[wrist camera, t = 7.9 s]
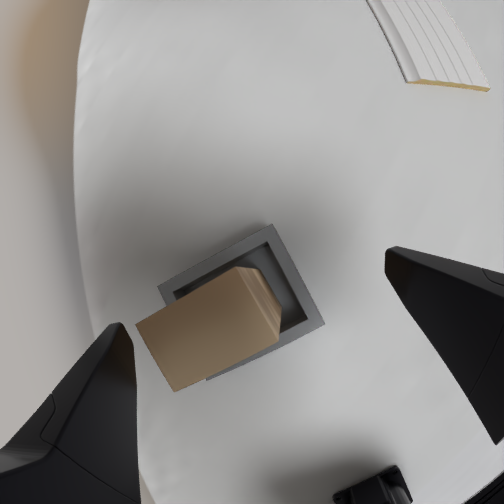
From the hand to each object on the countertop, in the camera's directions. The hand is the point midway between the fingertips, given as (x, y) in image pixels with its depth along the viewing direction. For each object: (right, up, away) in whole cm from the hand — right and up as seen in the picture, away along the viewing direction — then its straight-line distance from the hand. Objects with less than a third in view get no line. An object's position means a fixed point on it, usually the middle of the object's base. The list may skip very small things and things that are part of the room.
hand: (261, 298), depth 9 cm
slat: (-1, -2, +12) cm, 12 cm away
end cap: (-1, -2, +13) cm, 13 cm away
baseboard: (+16, +33, +14) cm, 39 cm away
